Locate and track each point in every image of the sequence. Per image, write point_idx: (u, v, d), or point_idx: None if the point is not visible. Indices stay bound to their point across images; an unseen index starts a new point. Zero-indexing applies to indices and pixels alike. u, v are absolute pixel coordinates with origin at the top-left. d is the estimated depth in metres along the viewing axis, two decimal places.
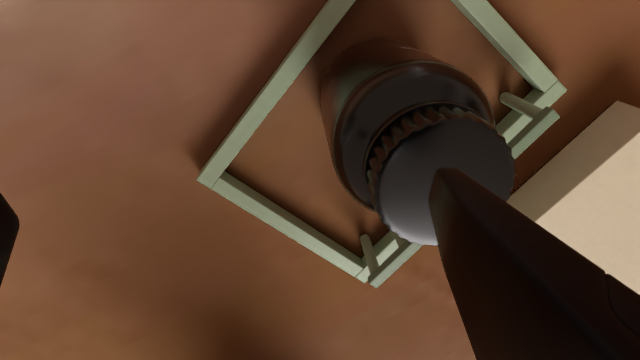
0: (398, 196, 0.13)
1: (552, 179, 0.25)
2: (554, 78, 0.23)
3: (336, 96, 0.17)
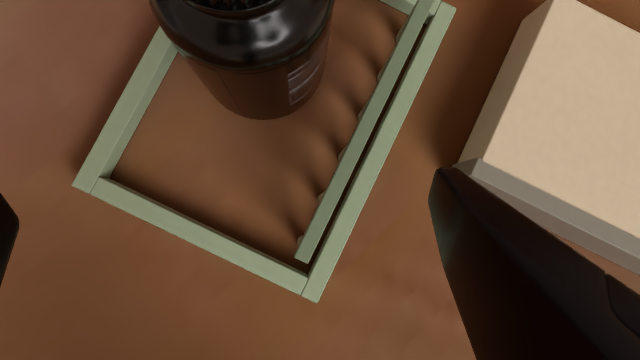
0: None
1: (494, 103, 0.21)
2: None
3: None
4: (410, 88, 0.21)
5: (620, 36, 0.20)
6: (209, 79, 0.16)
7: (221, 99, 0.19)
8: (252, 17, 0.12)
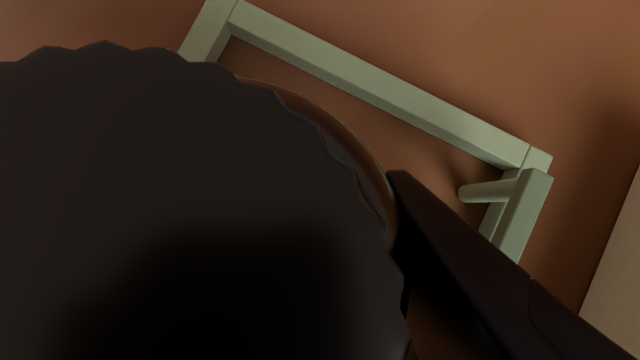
0: None
1: (615, 308, 0.14)
2: (523, 143, 0.14)
3: None
4: None
5: None
6: None
7: None
8: None
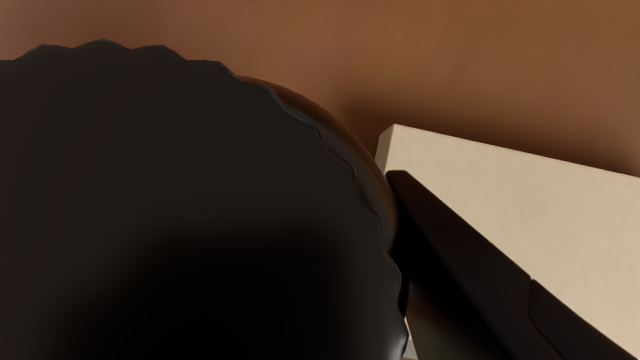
0: None
1: None
2: None
3: None
4: None
5: (470, 154, 0.19)
6: None
7: None
8: None
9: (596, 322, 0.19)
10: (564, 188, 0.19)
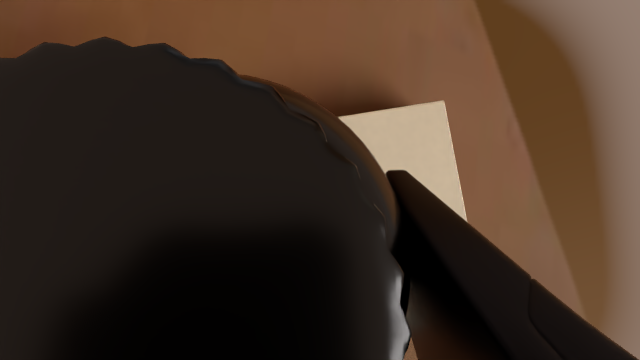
0: None
1: None
2: None
3: None
4: None
5: None
6: None
7: None
8: None
9: None
10: None
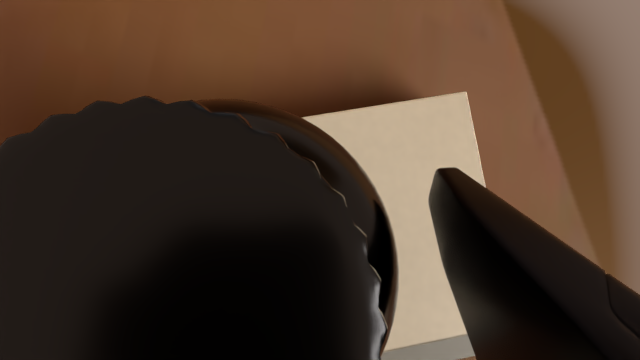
0: None
1: None
2: None
3: None
4: None
5: None
6: None
7: None
8: None
9: None
10: None
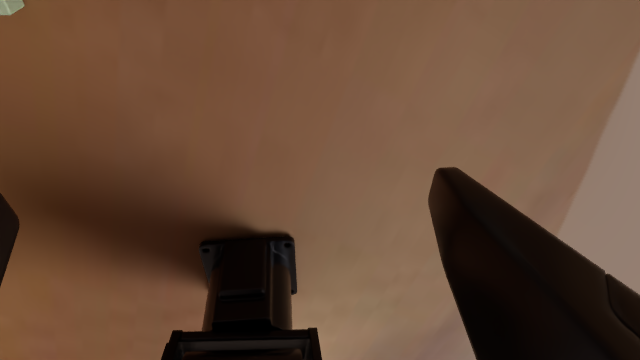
0: None
1: None
2: None
3: None
4: None
5: None
6: None
7: None
8: None
9: None
10: None
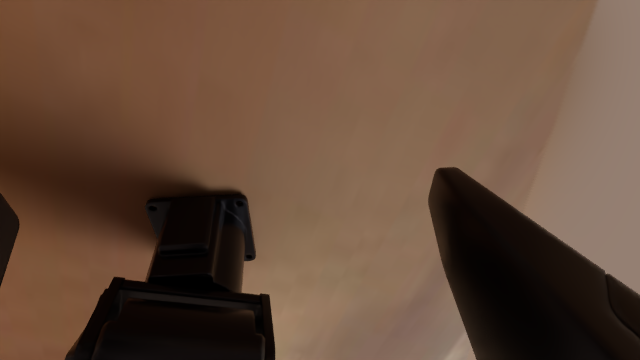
0: None
1: None
2: None
3: None
4: None
5: None
6: None
7: None
8: None
9: None
10: None
